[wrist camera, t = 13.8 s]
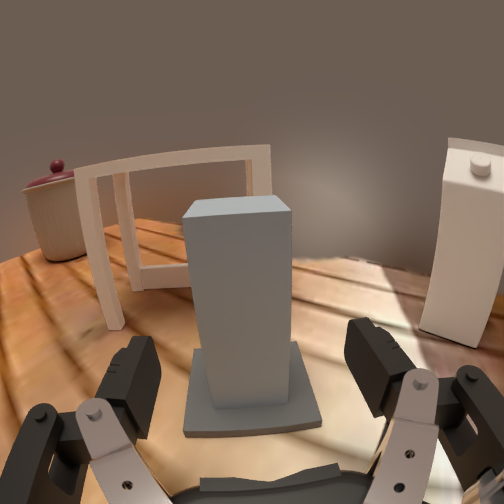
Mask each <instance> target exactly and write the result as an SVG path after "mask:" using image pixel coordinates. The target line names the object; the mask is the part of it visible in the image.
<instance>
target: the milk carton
mask: <svg viewBox="0 0 504 504" xmlns="http://www.w3.org/2000/svg"><path fill="white" fill-rule="evenodd" d="M503 267H504V146H501V145H496V144H490V143H484V142H478V141H472V140H465V139H457V138H448V153H447V159H446V165H445V170H444V175H443V186H442V201H441V213H440V222H439V231H438V238H437V245H436V252H435V258H434V264H433V269H432V274H431V279H430V284H429V289H428V293H427V298H426V302H425V306H424V310H423V314H422V317H421V321H420V325H419V329H421V330H424V331H427V332H430V333H433V334H435V335H438V336H441V337H444V338H447V339H450V340H453V341H456V342H459V343H461V344H464V345H467V346H470V347H473V348H477V346H478V344H479V342H480V339H481V337H482V334H483V331H484V329H485V326H486V323H487V321H488V318H489V315H490V312H491V309H492V306H493V303H494V300H495V296H496V293H497V290H498V286H499V282H500V279H501V275H502V271H503Z"/></svg>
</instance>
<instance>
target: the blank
mask: <svg viewBox="0 0 504 504" xmlns="http://www.w3.org/2000/svg"><path fill="white" fill-rule="evenodd" d="M182 220H183V229H184V238H185V246H186V254H187V261H188V269H189V276H190V283H191V289H192V296H193V302H194V308H195V314H196V320H197V326H198V332H199V337H200V343H201V348H202V353H203V358H204V363H205V368H206V373H207V378H208V383H209V387H210V392H211V397H212V401H213V405H214V409H230V408H247V407H259V406H270V405H279V404H287V403H288V386H289V364H290V337H291V296H292V211H291V210H290V209H289V208H288V207H287V206H286V205H285V204H284V203H283V202H282V201H281V200H280V199H279V198H278V197H277V196H276V195H268V196H249V197H233V198H219V199H206V200H196V201H195V202H194V203H193V204H192V206H191V207H190V208H189V210H188V211H187V212H186V214H185V215H184V216H183V218H182Z"/></svg>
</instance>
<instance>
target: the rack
mask: <svg viewBox="0 0 504 504" xmlns="http://www.w3.org/2000/svg"><path fill="white" fill-rule="evenodd" d="M232 160H245V161H246V183H247V197H249V196H268V195H272V181H271V180H272V179H271V155H270V145H246V146H229V147H215V148H203V149H194V150H185V151H174V152H167V153H159V154H152V155H145V156H138V157H132V158H126V159H120V160H115V161H109V162H104V163H99V164H95V165H89V166H85V167H80V168H76V169H74V178H75V187H76V195H77V202H78V209H79V215H80V221H81V226H82V232H83V237H84V242H85V247H86V251H87V256H88V260H89V264H90V269H91V273H92V277H93V280H94V284H95V288H96V291H97V295H98V298H99V302H100V305H101V308H102V312H103V315H104V318H105V321H106V324H107V327H108V330H122V328H123V326H124V324H125V319H124V316H123V313H122V309H121V306H120V302H119V298H118V294H117V291H116V287H115V283H114V278H113V274H112V270H111V266H110V261H109V256H108V251H107V247H106V241H105V236H104V231H103V225H102V219H101V212H100V206H99V199H98V191H97V182H96V177H100V176H106V175H112V174H113V183H114V192H115V200H116V207H117V214H118V221H119V227H120V233H121V239H122V245H123V250H124V255H125V260H126V265H127V270H128V275H129V279H130V283H131V288H132V292H134V291H143V290H144V289H159V288H180V287H191V283H190V276H189V269H188V263H184V264H168V265H152V266H142V264H141V258H140V253H139V247H138V241H137V235H136V229H135V222H134V215H133V208H132V200H131V191H130V183H129V172H130V171H136V170H144V169H151V168H157V167H158V168H159V167H166V166H175V165H184V164H194V163H204V162H218V161H232Z"/></svg>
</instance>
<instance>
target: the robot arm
mask: <svg viewBox="0 0 504 504" xmlns="http://www.w3.org/2000/svg"><path fill="white" fill-rule="evenodd" d="M344 357H345V361H346V363H347V365H348V367H349V369H350V371H351V373H352V375H353V377H354V379H355V381H356V383H357V385H358V387H359V389H360V391H361V393H362V395H363V397H364V399H365V401H366V403H367V405H368V407H369V409H370V411H371V413H372V415H373V417H374V418H377V417H380V416H383V415H384V416H385V418H386V422H385V424H384V427H383V429H382V432H381V435H380V438H379V441H378V443H377V446H376V449H375V451H374V454H373V456H372V459H371V461H370V463H369V465H368V467H367V469H366V471H365V473H361V472H356V471H348V470H340V469H339V466H338V463H334V464H330V465H326V466H321V467H316V468H311V469H305V470H303V471H300V472H298V473H295V474H292V475H290V476H287V477H284V478H281V479H278V480H275V481H271V482H266V481H257V480H249V479H242V478H235V477H229V478H200V486H195V487H191V488H188V489H185V490H183V491H180V492H178V493H177V494H175V495H173V496H172V497H171V496H170V494H169V493H168V492H167V491H166V489H165V488H164V487H163V486H162V484H161V483H160V482H159V480H158V479H157V478H156V476H155V475H154V473H153V472H152V470H151V469H150V468H149V466H148V465H147V463H146V462H145V460H144V459H143V457H142V456H141V454H140V452H139V451H138V449H137V448H136V446H135V445H136V441H137V439H147V437H148V432H149V427H150V423H151V418H152V414H153V410H154V405H155V401H156V397H157V393H158V388H159V384H160V380H161V366H160V362H159V359H158V356H157V352H156V349H155V346H154V342H153V339H152V337H151V336H133V337H132V338H131V340H130V342H129V345H128V347H127V348H121V349H120V350H119V351H118V352H117V353H116V354H115V355H114V356H113V358H112V360H111V363H110V366H109V367H108V369H107V373H105V375H104V377H103V380H102V382H101V384H100V386H99V388H98V391H97V393H96V395H95V398H92V399H88V400H86V401H84V402H83V403H81V404H80V405H79V407H78V408H77V410H76V411H75V412H66V413H58V412H57V411H56V409H55V408H54V407H53V406H52V405H50V404H47V403H41V404H38V405H36V406H34V407H33V408H32V409H30V411H29V412H28V414H27V416H26V418H25V420H24V422H23V424H22V426H21V429H20V431H19V433H18V435H17V437H16V440H15V442H14V444H13V447H12V449H11V451H10V454H9V456H8V459H7V461H6V464H5V467H4V469H3V472H2V475H1V477H0V504H80V502H81V496H82V491H83V487H84V482H85V477H86V473H87V469H88V464H90V466H91V468H92V471H93V473H94V475H95V477H96V479H97V481H98V483H99V485H100V487H101V489H102V491H103V493H104V495H105V497H106V499H107V501H108V502H109V504H429V503H427V502H425V501H423V497H424V494H425V491H426V487H427V483H428V480H429V476H430V472H431V468H432V463H433V459H434V454H435V449H436V443H437V438H438V439H439V441H440V443H441V445H442V447H443V449H444V451H445V453H446V455H447V457H448V459H449V461H450V463H451V465H452V467H453V469H454V471H455V473H456V475H457V477H458V479H459V481H460V484H461V486H462V488H463V490H464V492H465V493H464V495H463V498H462V504H504V397H503V396H502V395H501V393H500V392H499V391H498V389H497V388H496V387H495V386H494V384H493V383H492V382H491V381H490V379H489V378H488V377H487V376H486V375H485V373H484V372H483V371H482V370H481V369H479V368H478V367H475V366H471V365H466V366H462V367H461V368H459V369H458V371H457V373H456V375H455V377H449V378H437V377H436V375H435V374H434V373H432V372H431V371H429V370H426V369H421V368H416V366H415V365H414V364H413V362H412V361H411V360H410V359H409V357H408V356H407V355H406V353H405V352H404V351H403V350H402V348H400V346H399V344H398V343H397V342H395V339H394V338H393V337H392V336H391V334H390V333H389V332H387V331H386V330H384V329H382V328H381V327H375V326H374V325H373V323H372V322H371V321H370V319H369V318H367V317H364V318H358V319H352V320H350V321H349V322H348V327H347V334H346V341H345V347H344ZM467 414H469V416H470V417H471V419H472V420H473V422H474V424H475V425H476V427H477V430H478V436H477V434H476V433H475V431H474V429H473V428H472V426H471V425H470V423H469V421H468V420H467V418H466V416H467ZM53 454H54V457H53ZM52 457H53V460H52ZM51 460H52V464H51V467H50V470H49V473H48V469H49V466H50V463H51Z"/></svg>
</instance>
